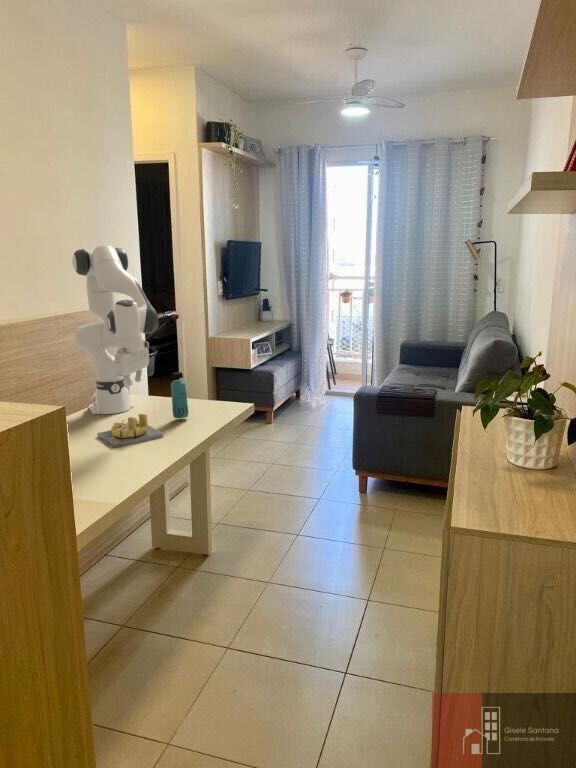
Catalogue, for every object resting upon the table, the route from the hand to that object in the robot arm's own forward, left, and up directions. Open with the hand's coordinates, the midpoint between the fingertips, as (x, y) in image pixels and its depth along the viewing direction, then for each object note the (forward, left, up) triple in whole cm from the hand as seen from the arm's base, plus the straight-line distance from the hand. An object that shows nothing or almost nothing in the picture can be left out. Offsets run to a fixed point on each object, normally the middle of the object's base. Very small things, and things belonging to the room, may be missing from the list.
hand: (134, 383), depth 206 cm
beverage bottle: (-13, +23, -21) cm, 34 cm away
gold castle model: (-5, -2, -21) cm, 22 cm away
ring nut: (-5, -2, -19) cm, 20 cm away
